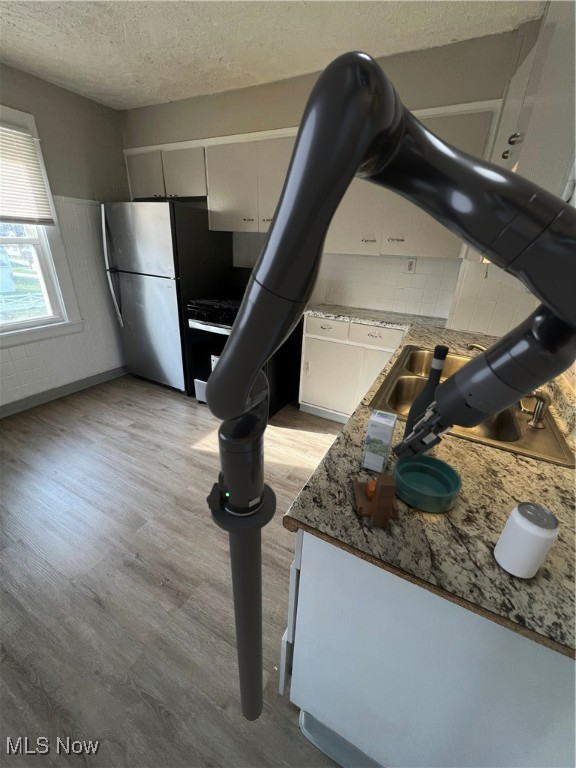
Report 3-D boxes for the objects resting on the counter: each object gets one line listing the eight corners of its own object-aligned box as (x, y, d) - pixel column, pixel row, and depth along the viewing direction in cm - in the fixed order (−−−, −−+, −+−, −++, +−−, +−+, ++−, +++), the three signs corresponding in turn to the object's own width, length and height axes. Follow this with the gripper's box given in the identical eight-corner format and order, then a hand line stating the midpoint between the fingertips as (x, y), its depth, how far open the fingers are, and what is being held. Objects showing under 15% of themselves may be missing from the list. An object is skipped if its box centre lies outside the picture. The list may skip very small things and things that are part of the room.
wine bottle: (437, 452, 86) (467, 348, 73) (422, 464, 81) (451, 354, 68) (410, 438, 91) (434, 339, 78) (395, 448, 86) (417, 345, 74)
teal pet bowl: (398, 511, 67) (403, 493, 65) (384, 467, 79) (388, 451, 77) (467, 516, 66) (473, 499, 64) (442, 471, 79) (446, 455, 77)
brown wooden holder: (399, 528, 63) (410, 486, 58) (359, 525, 63) (366, 483, 58) (387, 486, 73) (395, 448, 68) (352, 484, 74) (358, 446, 69)
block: (381, 501, 68) (383, 491, 67) (367, 500, 68) (369, 490, 67) (379, 491, 71) (381, 481, 69) (365, 490, 71) (367, 480, 70)
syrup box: (388, 461, 81) (398, 413, 75) (383, 475, 77) (393, 425, 70) (366, 454, 84) (374, 407, 78) (360, 467, 79) (368, 418, 73)
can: (513, 543, 60) (536, 497, 55) (544, 576, 55) (573, 527, 49) (484, 549, 59) (505, 502, 54) (513, 583, 53) (540, 534, 48)
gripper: (473, 349, 47) (407, 403, 60) (439, 395, 39) (371, 447, 51) (515, 383, 46) (438, 431, 58) (490, 439, 37) (406, 482, 49)
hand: (407, 439), depth 54 cm, fingers open, 8 cm apart
